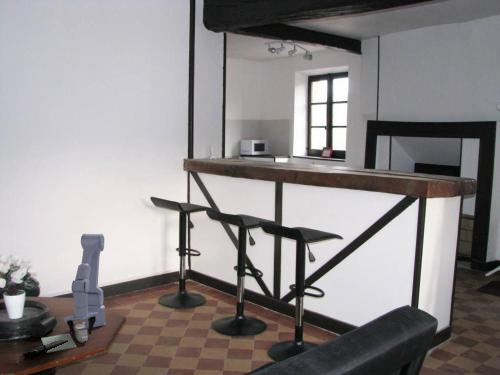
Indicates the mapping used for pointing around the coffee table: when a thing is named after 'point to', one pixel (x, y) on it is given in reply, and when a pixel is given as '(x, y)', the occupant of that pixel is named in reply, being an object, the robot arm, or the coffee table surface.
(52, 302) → the coffee table surface
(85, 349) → the coffee table surface
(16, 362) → the coffee table surface
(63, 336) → the mat
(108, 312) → the coffee table surface
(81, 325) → the connector
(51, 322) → the end cap
